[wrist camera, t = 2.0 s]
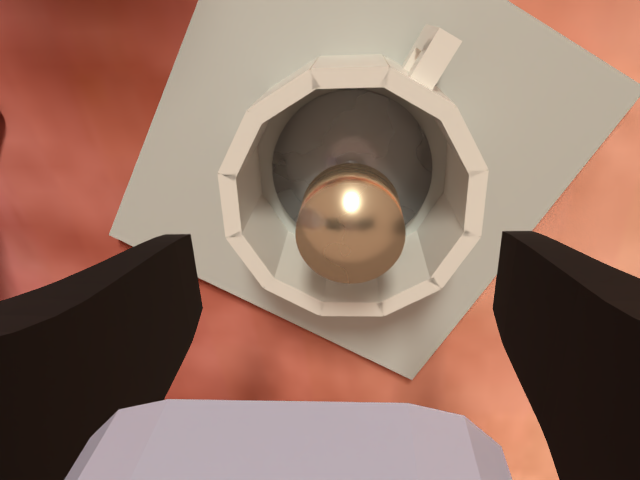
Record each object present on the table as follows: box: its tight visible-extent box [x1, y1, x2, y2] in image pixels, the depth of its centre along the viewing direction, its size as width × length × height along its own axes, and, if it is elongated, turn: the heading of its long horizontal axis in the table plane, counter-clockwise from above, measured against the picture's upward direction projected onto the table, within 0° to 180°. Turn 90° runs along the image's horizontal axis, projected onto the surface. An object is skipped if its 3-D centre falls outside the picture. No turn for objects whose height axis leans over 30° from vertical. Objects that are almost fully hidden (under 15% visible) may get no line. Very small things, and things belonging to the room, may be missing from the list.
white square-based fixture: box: [109, 0, 640, 380], centre depth 19 cm, size 16×16×5 cm
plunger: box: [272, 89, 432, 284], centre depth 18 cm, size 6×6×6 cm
